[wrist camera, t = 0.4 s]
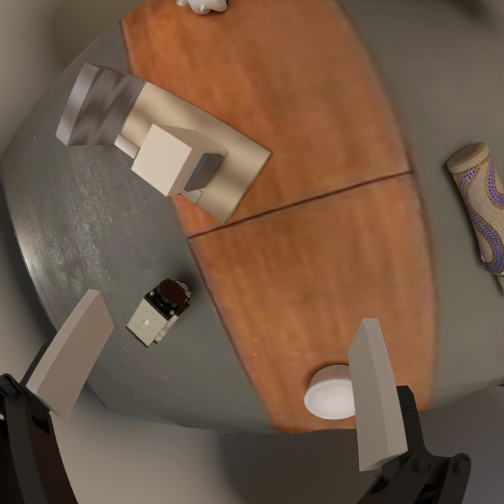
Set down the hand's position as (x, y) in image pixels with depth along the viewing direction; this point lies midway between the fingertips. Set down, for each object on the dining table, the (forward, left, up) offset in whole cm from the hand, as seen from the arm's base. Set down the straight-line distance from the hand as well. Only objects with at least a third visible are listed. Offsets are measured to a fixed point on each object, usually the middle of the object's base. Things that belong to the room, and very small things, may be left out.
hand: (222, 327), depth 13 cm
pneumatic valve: (+22, -8, -27) cm, 36 cm away
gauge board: (0, -22, -27) cm, 34 cm away
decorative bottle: (-18, +23, -27) cm, 40 cm away
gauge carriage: (+2, -16, -25) cm, 30 cm away
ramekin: (+18, +24, -27) cm, 41 cm away
